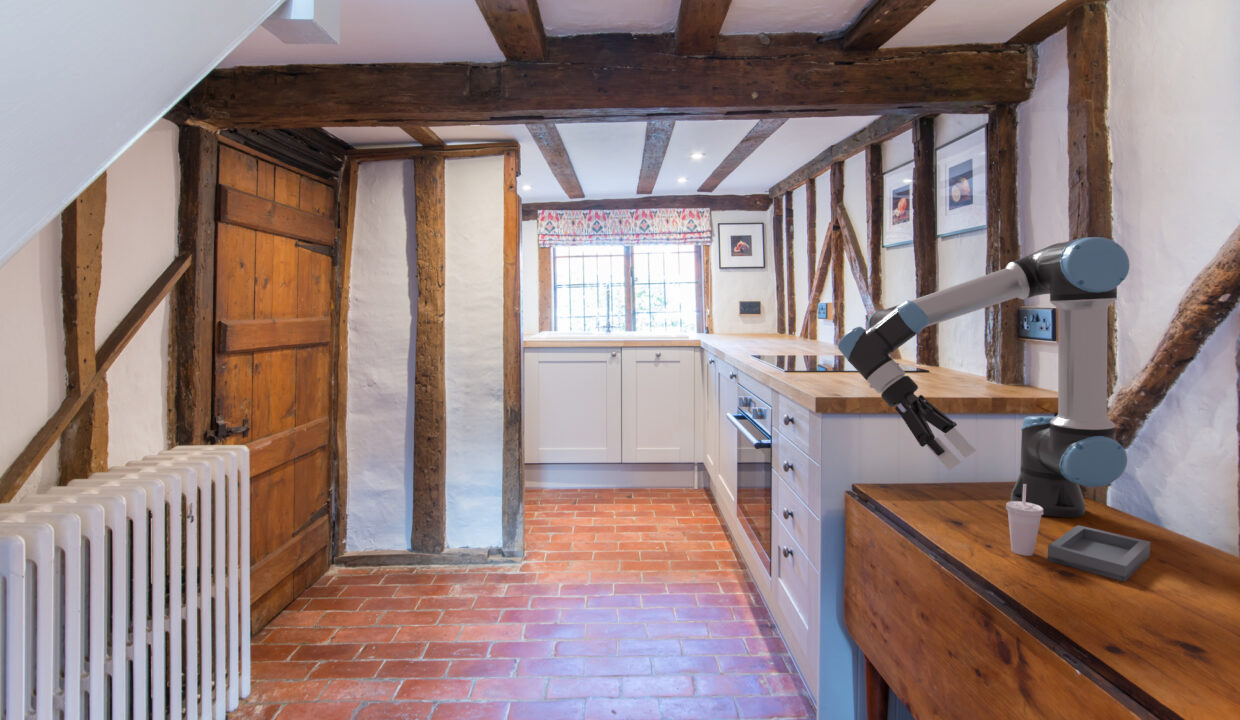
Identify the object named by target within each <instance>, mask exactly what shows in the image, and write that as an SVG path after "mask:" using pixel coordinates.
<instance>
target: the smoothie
mask: <svg viewBox="0 0 1240 720" xmlns="http://www.w3.org/2000/svg"><path fill="white" fill-rule="evenodd" d="M1010 501H1011V500H1010ZM1010 501H1008V502H1006V504H1005V510H1007V515H1008V516H1007V517H1008V518H1007V519H1008V526H1009V527H1008V528H1009V537H1010V538H1009V539H1010V549H1011V552H1012V553H1014V554H1017V555H1019V556H1023V557H1024V556H1025V557H1027V556H1028V557H1030V556H1033V555H1034V552H1035V548H1036V547H1035V546H1036V543H1037V537H1038V533H1039V529H1040V523H1041V519H1042V516H1044V515H1043V514H1044V513H1043V508H1042V507H1041V506H1039V505H1036V504H1032V503H1028V502H1026V484H1023V498H1022V502H1020V501H1011V502H1010Z"/></svg>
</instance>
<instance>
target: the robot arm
mask: <svg viewBox="0 0 1240 720" xmlns="http://www.w3.org/2000/svg"><path fill="white" fill-rule="evenodd" d="M1129 271H1130V258H1129V256H1128V254H1127V252H1126V250H1125V248H1123V247H1122V246H1121V244H1120V245H1119V244H1118V242H1116V241H1114V240H1112V239H1110V238H1107V237H1102V236H1101V237H1100V236H1094V237H1090V236H1089V237H1088V236H1086V237H1082V238H1081V237H1080V238H1077V239H1073V240H1069V241H1064V242H1058V243H1054V244H1051V245H1049V246H1046V247H1044V248H1041V249H1040V250H1037V251H1035V252H1033V253H1031V254H1029V255H1026V256H1024V257H1020V258H1018V259H1016V260H1012V261H1010V262H1008V263H1007V264H1006V266H1005V268H1003V269H1000V270H997V271H994V272H990V273H988V274H984V275H982V276H979V277H976V278H974V279H970V280H967V281H965V282H962V283H959V284H955V285H952V286H949V287H947V288H944V289H941V290H939V291H935V292H932V293H930V294H927V295H923V296H921V297H918V298H915V299H911V300H905V301H904V302H903V303H900V304H897V305H893V306H892V307H889V308H885V309H884V308H883V309H882V308H881V309H878V310H876V311H874V312H873V313H872V314H871V315H870V316H869V318H868V320H867V330H866V329H865V328H863V327H862V326H856V327H854V328H853V329H851V330H849V331H848V332H847V333H845V335H843V336H842V337H841V339H839V341H838V343H837V349H838V350H839V351H840V353H841V354H842V355H843V356H844V358H845V359H846V360H847V362H849V364H850V365H852V367H853V368H854V369H855V370H856V371H857V372H858V373H859V375H861V376H862V377H863V379H865V381H867V382H868V385H869V386H868V387H869V388H870V389H874V390H875V392H877V394H881V398H882V400H883V401H884V402H885V403H886V404H887V406H889V407H890V408H894V409H895V411H896V412H897V413H898V414H899V415H900V417H901V418H902V420H903V421H904V423H905V424H906V427H908V429H909V431H910V432H911V434H912V435H913V436H914V438H915V440H916V441H917V442H918V444H919V446H921V447H922V448H924V447H925V446H926V447H927V448H928V449H930V451H931V452H932V453H933V454H934V455H935V456H936V457H937V458H938V460H939V461H940V462H941V463H942V464H943V465H944V466H945V467H946V469H947V470H948V471H950V470H952V469H954V468H955V467H956V466H958V465H959V464H961V463H962V462H961V461H960V460H959V458H958V457H957V456H956V455H955V454H954V453H953V452H952V451H951V450H950V449H949V448H948V446H946V444H944V442H943V441H942V440H941V439H940V438H939V437H938V436H937V437H936V436H935V435H934V433H933V431H932V429H931V426H933V427H935V428H936V429H938V430H939V431H941V432H942V433H943V436H944V437H945V438H946V439H947V440H948V441H949V442H950V444H951V445H952V446H953V447H954V448H955V449H956V450H957V451H958V452H959V453H960V454H961V455H962V456H963V457H964V459H966V458H968V457H969V456H971V455H972V454H974V453H975V452H976V451H977V450H976V449H975V448H974V446H973V445H972V444H971V443H970V442H969V441H968V440H967V439H966V438H965V437H964V436H963V435H962V433H960V431H958V430H957V429H956V427H957V426H958V424H957V423H956V421H953V420H952V419H951V418H950V417H948V416H947V415H946V414H945V413H943V412H942V411H941V410H940V409H938V408H937V407H936V406H934V405H933V404H932V403H931V402H930V401H929V400H927V398H926V397H925V396H924V395H922V394H919V395H918V396H917V395H915V392H917V391H918V389H919V386H918V384H917V383H916V382H915V381H914V380H913V379H912V378H911V377H910V376H909V375H906V371H905V370H904V369H903V368H902V367H901V366H900V365H899V364H898V363H897V362H896V361H895V360H894V359H893V358H892V357H891V356H890V355H891V354H892V353H894V352H895V351H896V350H898V349H899V348H900V347H901V346H904V345H905V344H906V343H907V342H908V341H909V340H911V339H912V338H914V337H915V336H916V335H917V334H920V333H921V331H923V330H924V329H925V328H926V327H931V326H934V325H936V324H938V323H942V322H945V321H948V320H952V319H954V318H957V317H961V316H964V315H967V314H970V313H973V312H976V311H979V310H981V309H982V310H983V309H986V308H988V307H992V306H995V305H997V304H1001V303H1005V302H1007V301H1010V300H1013V299H1016V298H1017V299H1020V300H1027V299H1029V298H1033V297H1037V296H1041V295H1049V302H1050V304H1052V305H1053V306H1054V307H1055V308H1056V309H1057V311H1058V313H1057V314H1058V322H1057V323H1058V325H1057V326H1058V327H1057V328H1058V334H1057V335H1058V341H1057V342H1058V343H1057V344H1058V345H1057V346H1058V352H1057V353H1058V355H1057V356H1058V365H1057V368H1058V369H1057V371H1058V376H1057V378H1058V380H1057V381H1058V384H1057V385H1058V387H1057V388H1058V391H1057V394H1058V397H1057V399H1058V402H1057V404H1058V406H1057V409H1058V412H1057V415H1056V416H1051V415H1049V416H1048V415H1047V416H1046V415H1030V416H1025V417H1024V419H1023V421H1022V426H1021V441H1020V442H1021V445H1020V447H1021V448H1020V466H1019V467H1020V471H1019V472H1020V473H1019V476H1018V478H1017V480H1016V482H1015V484H1014V486H1013V488H1012V490H1011V494H1010V501H1009V502H1011V501H1020V502H1022V498H1023V484H1026V502H1028V503H1032V504H1036V505H1039V506H1041V507H1042V508H1043V513H1044V514H1043V515H1042V516H1047V517H1054V518H1068V519H1069V518H1071V519H1072V518H1080V517H1082V516H1083V517H1084V516H1085V514H1086V503H1085V502H1086V501H1085V498H1084V496H1083V493H1082V490H1081V487H1080V486H1083V487H1087V488H1100V487H1104V486H1107V485H1110V484H1112V483H1113V482H1115V481H1116V480H1117V479H1119V478H1120V477H1121V476H1122V475H1123V474H1124V472H1125V471H1126V468H1127V466H1128V454H1127V452H1126V450H1125V448H1124V447H1123V446H1122V444H1120V443H1119V442H1118V441H1117V440H1116V439H1117V438H1116V435H1117V434H1116V432H1117V431H1116V428H1117V427H1116V424H1115V422H1113V421H1112V420H1111V419H1110V418H1109V417H1108V413H1107V411H1108V410H1107V408H1108V404H1107V403H1108V401H1107V400H1108V309H1109V307H1110V306H1111V305H1112V304H1113V303H1114V302H1115V301H1117V299H1118V286H1120V285H1121V284H1122V282H1123V281H1125V280H1126V278H1127V276H1128V274H1129ZM929 424H931V426H930V425H929Z"/></svg>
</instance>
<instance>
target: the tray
mask: <svg viewBox="0 0 1240 720" xmlns="http://www.w3.org/2000/svg"><path fill="white" fill-rule="evenodd" d="M1151 543H1152V542H1151V541H1148V540H1143V539H1139V538H1136V537H1132V536H1127V535H1122V534H1118V533H1113V532H1111V531H1110V532H1109V531H1105V530H1101V529H1098V528H1093V527H1089V526H1088V527H1087V526H1083V525H1079V524H1077V525H1076V526H1074V527H1072V528H1071V529H1070V530H1069V531H1067V532H1066V533H1064V534H1063V535H1062V536H1060V537H1059V538H1057V539H1056V540H1054V541H1053V542H1051V543H1050V544H1049V545H1047V558H1046V559H1047V561H1048V562H1052V563H1055V564H1059V565H1062V566H1065V567H1070V568H1073V569H1075V570H1076V569H1077V570H1080V571H1083V572H1087V573H1090V574H1094V575H1098V574H1099V575H1098V576H1101V575H1102V576H1101V577H1105V576H1106V578H1108V577H1110V578H1109V579H1112V578H1113V579H1112V580H1115V579H1117V580H1116V581H1119V580H1120V581H1119V582H1123V581H1124V582H1123V583H1126V582H1125V581H1126V580H1127V579H1128V580H1129V579H1130V578H1131V576H1133V574H1134V573H1135V572H1136V571H1137V570H1138V569H1139V568H1140V567H1141V566H1142V565H1143V564H1144V563H1145V562H1146V561H1147V560H1148V559H1149V558H1150V557H1151V545H1152V544H1151ZM1148 557H1149V558H1148ZM1141 564H1142V565H1141ZM1128 580H1127V581H1128Z"/></svg>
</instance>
